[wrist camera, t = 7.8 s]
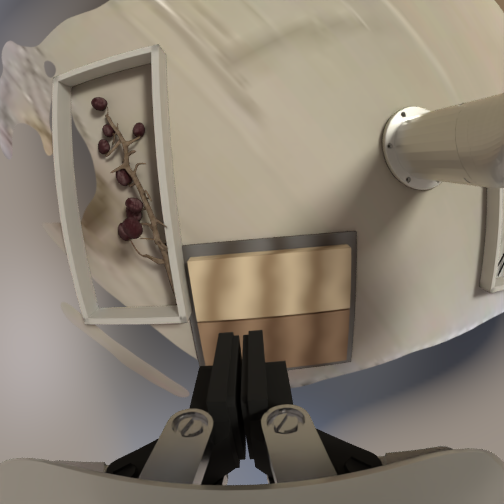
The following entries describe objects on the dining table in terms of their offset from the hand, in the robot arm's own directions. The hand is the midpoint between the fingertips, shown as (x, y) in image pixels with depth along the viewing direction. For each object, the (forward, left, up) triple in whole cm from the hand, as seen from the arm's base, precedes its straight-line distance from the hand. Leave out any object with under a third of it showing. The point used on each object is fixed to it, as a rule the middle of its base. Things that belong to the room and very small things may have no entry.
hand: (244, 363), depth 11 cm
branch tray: (+18, -7, -31) cm, 37 cm away
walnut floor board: (-3, +13, -31) cm, 34 cm away
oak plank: (-2, +8, -31) cm, 32 cm away
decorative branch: (+15, -6, -32) cm, 36 cm away
